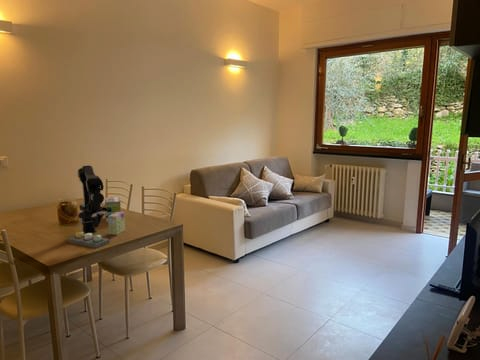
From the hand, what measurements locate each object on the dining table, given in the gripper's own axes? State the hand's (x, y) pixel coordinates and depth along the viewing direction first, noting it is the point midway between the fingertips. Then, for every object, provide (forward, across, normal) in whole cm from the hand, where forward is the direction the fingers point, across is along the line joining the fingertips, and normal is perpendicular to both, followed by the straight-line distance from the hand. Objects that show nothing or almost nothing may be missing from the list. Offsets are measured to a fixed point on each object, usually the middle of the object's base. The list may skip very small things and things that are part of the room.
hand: (96, 227), depth 200 cm
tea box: (+10, -41, -29) cm, 51 cm away
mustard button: (+8, 0, -14) cm, 16 cm away
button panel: (+10, 0, -7) cm, 12 cm away
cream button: (+8, 0, -7) cm, 11 cm away
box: (+10, -21, -6) cm, 24 cm away
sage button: (+8, 0, 0) cm, 8 cm away
